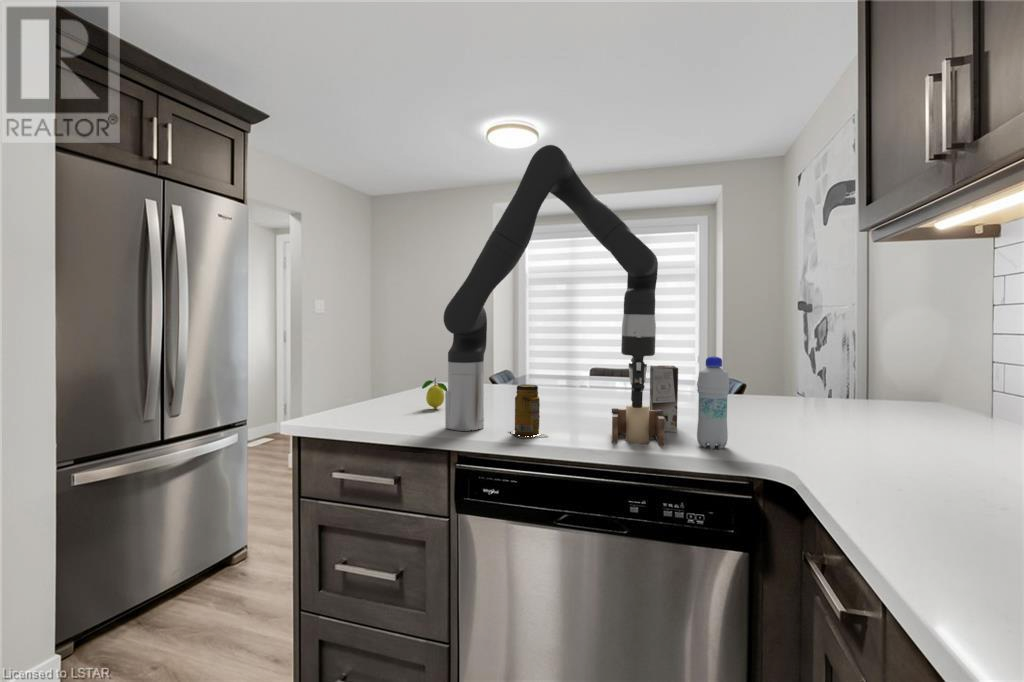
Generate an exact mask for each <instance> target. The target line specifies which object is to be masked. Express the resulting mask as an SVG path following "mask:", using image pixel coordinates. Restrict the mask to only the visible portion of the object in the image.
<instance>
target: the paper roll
mask: <svg viewBox="0 0 1024 682" xmlns="http://www.w3.org/2000/svg"><path fill="white" fill-rule="evenodd" d="M625 409H626V434H625V441H626V442H627V441H628V442H627V443H630V442H631V443H632V444H647V443H649V442H650V435H649V410H650V405H649V406H648V405H643V404H642V408H633V407H632V404H628V405H626V406H625Z"/></svg>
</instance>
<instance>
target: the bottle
mask: <svg viewBox="0 0 1024 682" xmlns="http://www.w3.org/2000/svg"><path fill="white" fill-rule="evenodd" d="M722 367H723V359H722V358H721V357H719V356H713V355H712V356H708V357H707V358H706V359H705V368H703V369H701V370H699V371H698V377H697V381H696V382H697V383H696V387H697V389H696V391H697V393H698V408H697V409H698V412H697V413H698V414H697V415H698V417H697V418H698V420H697V428H696V429H697V431H696V439H697V442H698V445H699V446H702V447H703V448H707V447H708V444H709V447H710V449H713V450H714V449H715V448H716V445H717V449H719V450H720V449H722V448H725V447H726V445H727V444H728V395H729V393H730V391H729V390H730V380H729V373H728V371H727V370H725V369H723V368H722Z"/></svg>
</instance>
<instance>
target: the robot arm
mask: <svg viewBox="0 0 1024 682" xmlns="http://www.w3.org/2000/svg"><path fill="white" fill-rule="evenodd" d="M550 194H552V195H553V196H554V197H556V198H557V199H559V200H560V201H561V202H563V203H564V205H566V206H567V207H568V208H569V209H570V210H571V211H572V212H573V213H574V214H575V215H576V216H577V218H578V219H579V220H580V222H581V223H582V224H583V225H584V227H585V228H586V229H587V230H588V231H589V232H590V234H592V236H593V237H594V238H595V239H596V240H597V241H598V242H599V244H600V245H602V246H603V247H604V248H605V249H606V250H607V251H609V253H610V254H611V256H613V257H614V258H615V260H616V261H617V262H618V264H619V265H620V266H621V267H622V268H623V269H624V271H625V272H626V273H627V279H626V280H627V281H626V282H627V284H626V291H625V293H624V296H623V317H622V323H621V354H622V355H623V356H631V359H630V361H631V362H628V372H629V373H628V374H629V375H628V376H629V382H630V386H631V388H630V389H631V394H630V395H631V396H630V397H631V398H630V400H631V405H632V407H633V408H642V405H643V396H644V395H643V393H644V390H645V383H646V379H647V377H646V376H647V375H646V372H647V367H648V365H647V363H646V362H645V361H644V358H645V357H653V356H654V355H655V353H656V331H657V330H656V329H657V327H656V325H657V323H656V289H657V288H656V286H657V281H658V269H659V268H658V267H659V264H658V263H659V262H658V258H657V256H656V254H655V253H654V252H653V251H652V250H651V249H650V248H649V247H648V246H647V245H646V244H645V243H644V242H643V241H642V240H641V239H640V238H638V237H637V236H636V235H635V234H634V233H633V232H632V230H631V229H630V227H629V226H628V224H626V223H625V221H623V220H622V219H621V218H620V217H619V216H618V215H617V214H616V213H615V212H614V211H613V209H612V208H610V207H609V206H608V205H607V204H605V203H604V201H602V200H601V199H600V198H598V197H597V196H596V195H595V194H594V193H592V191H591V190H590V189H588V187H587V185H586V184H584V183H583V181H582V180H581V178H580V177H579V175H578V174H577V172H576V170H575V168H574V167H573V163H571V161H570V159H569V157H568V156H567V155H566V153H565V151H564V150H563V149H562V148H561V147H559V146H558V145H555V144H546V145H544V146H542V147H540V148H539V149H538V150H537V151H536V152H535V153H534V154H533V156H532V157H531V159H530V160H529V163H528V165H527V166H526V169H525V171H524V174H523V175H522V179H521V180H520V182H519V185H518V187H517V189H516V191H515V193H514V195H513V197H512V198H511V200H510V202H509V204H508V205H507V206H506V209H504V212H503V213H502V215H501V218H500V219H499V221H498V222H497V223H496V225H495V227H494V228H493V230H492V232H491V233H490V235H489V237H488V238H487V240H486V242H485V244H484V247H483V248H482V250H481V251H480V253H479V255H478V257H477V259H476V260H475V262H474V264H473V266H472V268H471V270H470V272H469V273H468V275H467V277H466V279H464V282H463V283H462V284H461V286H460V287H459V289H457V291H456V293H455V294H454V296H452V298H451V299H450V301H449V302H448V304H447V305H446V307H445V309H444V312H443V325H444V326H445V328H446V330H447V331H448V332H449V333H451V334H453V338H452V339H453V340H452V345H451V346H450V348H449V350H448V352H447V391H445V393H444V399H445V400H444V402H445V408H444V409H445V419H444V420H445V423H444V424H445V425H444V426H445V429H447V430H451V431H462V432H466V431H467V432H469V431H471V430H472V431H478V429H479V430H482V429H484V425H485V423H484V422H485V417H484V416H485V414H484V413H485V407H484V406H485V405H484V404H485V403H484V402H485V398H484V396H485V392H484V391H485V390H484V389H485V388H484V386H485V369H484V368H485V366H484V365H485V364H484V363H485V362H484V360H485V358H484V357H485V353H486V349H487V338H488V337H487V334H488V333H487V332H488V331H487V330H488V319H487V318H488V317H487V312H486V309H485V305H486V302H487V300H488V299H489V297H490V295H491V294H492V293H493V291H494V290H495V289H496V287H498V285H500V284H501V282H502V281H503V280H505V278H506V277H507V276H508V275H509V274H510V273H512V271H513V269H514V268H515V267H516V266H517V264H518V263H519V261H520V259H521V257H523V254H524V252H525V251H526V249H527V247H528V245H529V244H530V241H531V239H532V235H533V231H534V228H535V225H536V221H537V217H538V214H539V211H540V209H541V207H542V205H543V203H544V202H545V200H546V198H547V197H548V195H550Z"/></svg>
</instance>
